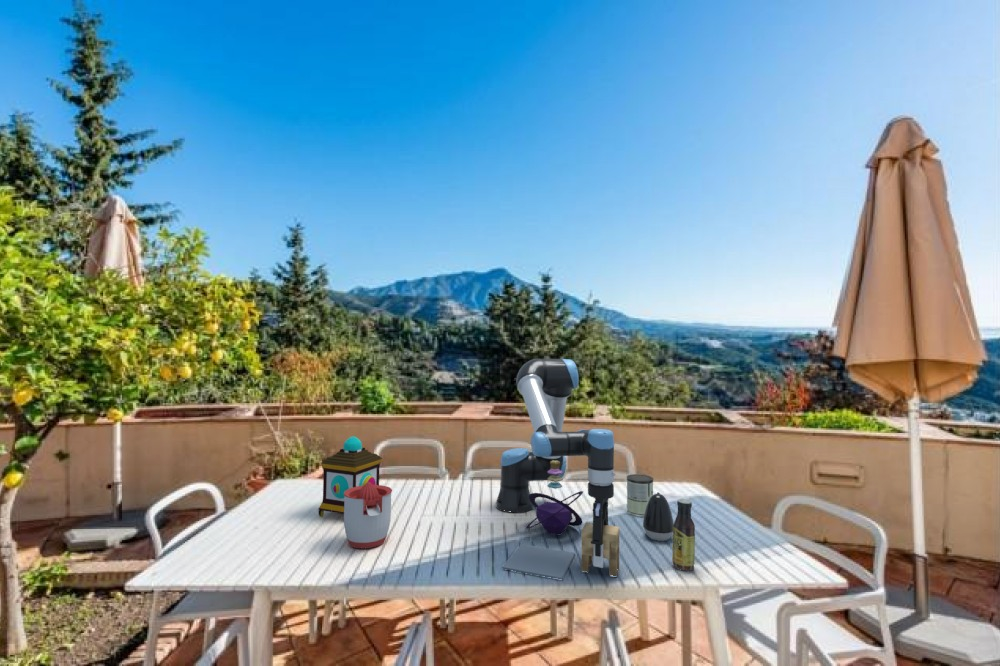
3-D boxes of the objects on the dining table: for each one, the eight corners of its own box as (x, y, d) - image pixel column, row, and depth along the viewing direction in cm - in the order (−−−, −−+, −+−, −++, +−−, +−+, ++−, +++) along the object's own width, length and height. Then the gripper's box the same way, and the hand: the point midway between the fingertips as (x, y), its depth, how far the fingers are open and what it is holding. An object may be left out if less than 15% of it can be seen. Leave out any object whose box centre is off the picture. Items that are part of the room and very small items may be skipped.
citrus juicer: (347, 558, 145) (349, 492, 146) (338, 538, 161) (340, 478, 162) (397, 549, 153) (399, 486, 153) (384, 530, 168) (385, 474, 169)
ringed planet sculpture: (596, 531, 170) (597, 461, 171) (565, 549, 154) (565, 471, 155) (545, 516, 184) (545, 452, 185) (511, 532, 168) (512, 461, 169)
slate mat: (502, 569, 139) (502, 566, 139) (521, 546, 156) (521, 544, 156) (562, 580, 132) (562, 577, 132) (575, 555, 149) (575, 552, 149)
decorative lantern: (312, 517, 180) (314, 438, 182) (347, 502, 199) (349, 430, 200) (355, 525, 173) (357, 442, 174) (387, 509, 191) (388, 434, 192)
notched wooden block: (581, 571, 138) (581, 530, 138) (585, 562, 145) (586, 522, 145) (616, 578, 134) (616, 535, 135) (619, 567, 141) (619, 526, 142)
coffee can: (624, 508, 196) (624, 473, 196) (650, 509, 195) (650, 474, 195) (629, 516, 186) (629, 480, 186) (656, 517, 185) (655, 481, 185)
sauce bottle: (668, 562, 145) (668, 497, 145) (688, 562, 145) (688, 496, 146) (678, 572, 138) (678, 503, 139) (699, 572, 139) (698, 503, 139)
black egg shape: (673, 534, 167) (673, 491, 168) (674, 545, 158) (674, 499, 158) (643, 530, 171) (643, 488, 171) (642, 541, 161) (642, 496, 161)
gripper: (608, 493, 130) (608, 578, 129) (617, 475, 149) (617, 549, 148) (581, 490, 132) (581, 573, 131) (593, 473, 151) (593, 545, 150)
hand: (600, 560), depth 140 cm, fingers open, 8 cm apart
